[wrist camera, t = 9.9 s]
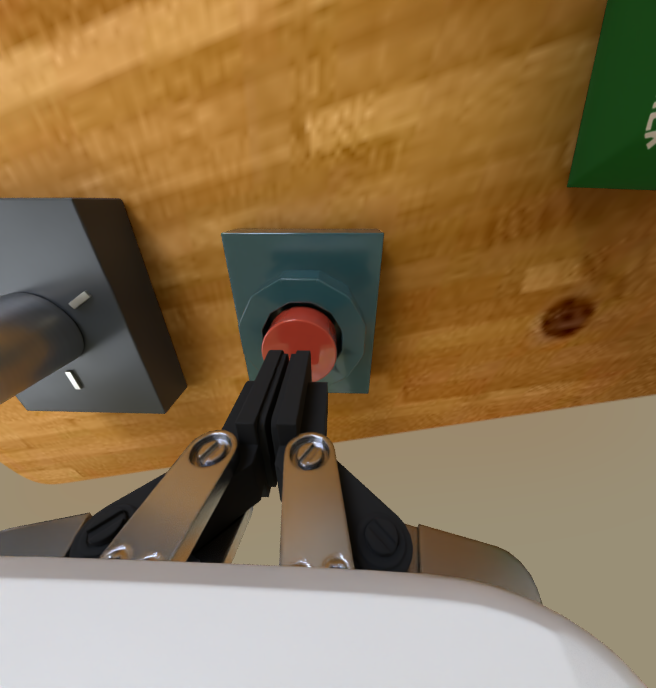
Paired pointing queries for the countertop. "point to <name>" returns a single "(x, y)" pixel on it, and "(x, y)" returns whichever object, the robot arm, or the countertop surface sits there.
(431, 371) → the countertop surface
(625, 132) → the milk carton
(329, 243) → the teal button housing
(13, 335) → the rotary knob
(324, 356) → the button
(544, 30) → the countertop surface
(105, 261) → the plate
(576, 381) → the countertop surface
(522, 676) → the robot arm
